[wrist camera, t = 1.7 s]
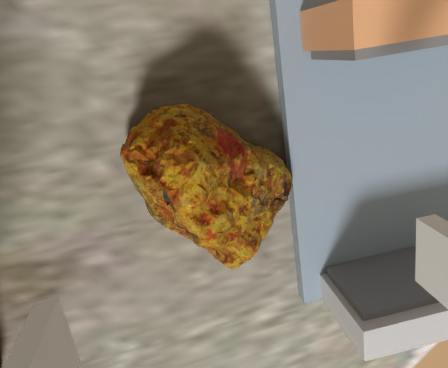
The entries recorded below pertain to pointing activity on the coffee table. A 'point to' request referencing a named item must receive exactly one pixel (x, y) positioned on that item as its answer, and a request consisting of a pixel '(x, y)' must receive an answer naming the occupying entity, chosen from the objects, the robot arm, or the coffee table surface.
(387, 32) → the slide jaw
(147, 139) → the rock
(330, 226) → the base
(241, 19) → the coffee table surface
